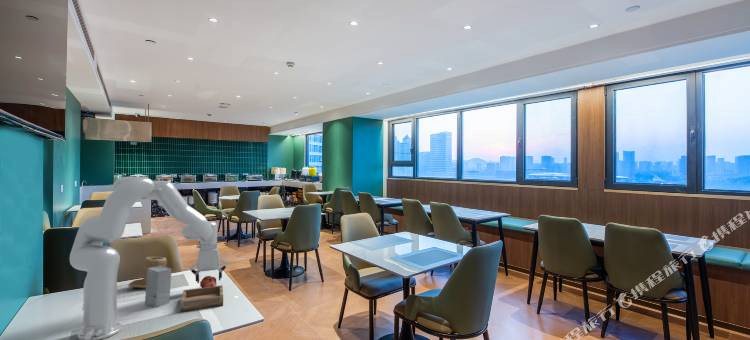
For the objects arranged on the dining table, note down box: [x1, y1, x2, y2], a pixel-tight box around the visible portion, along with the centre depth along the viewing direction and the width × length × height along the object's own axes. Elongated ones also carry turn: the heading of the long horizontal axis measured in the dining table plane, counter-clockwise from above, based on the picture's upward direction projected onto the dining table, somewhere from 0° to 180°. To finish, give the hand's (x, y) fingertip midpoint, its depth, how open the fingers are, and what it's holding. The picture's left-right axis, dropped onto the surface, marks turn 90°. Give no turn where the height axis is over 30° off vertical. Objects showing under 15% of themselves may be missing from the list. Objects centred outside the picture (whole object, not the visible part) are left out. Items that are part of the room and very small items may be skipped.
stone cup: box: [128, 256, 168, 289], centre depth 176 cm, size 15×12×15 cm
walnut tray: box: [179, 285, 224, 313], centre depth 155 cm, size 16×16×4 cm
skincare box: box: [144, 266, 172, 308], centre depth 153 cm, size 8×7×16 cm
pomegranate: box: [199, 275, 217, 288], centre depth 170 cm, size 7×7×10 cm
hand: (209, 281), depth 170 cm, fingers open, 9 cm apart
